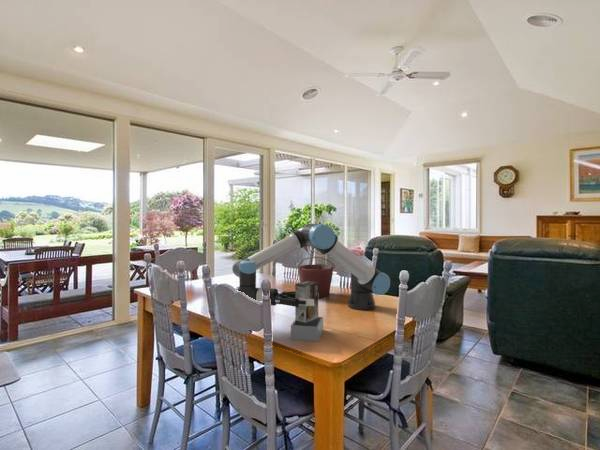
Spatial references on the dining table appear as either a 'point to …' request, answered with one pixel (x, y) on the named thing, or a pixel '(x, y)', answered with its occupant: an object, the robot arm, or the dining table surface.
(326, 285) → the bucket
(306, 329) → the grey well
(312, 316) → the coffee box
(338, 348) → the dining table surface
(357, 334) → the dining table surface
